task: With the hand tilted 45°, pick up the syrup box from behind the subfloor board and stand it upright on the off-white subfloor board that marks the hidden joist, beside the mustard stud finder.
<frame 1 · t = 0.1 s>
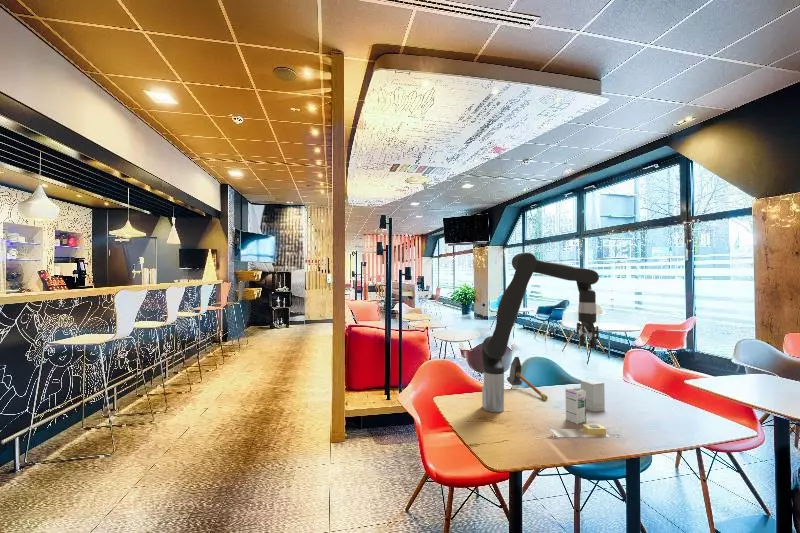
hand: (587, 346, 172), 29 cm above the table, tool pointing down, fingers open, 8 cm apart
syrup box: (575, 424, 154), on the table
subfloor board: (579, 436, 142), on the table
stud finder: (594, 432, 142), resting on subfloor board
supplement box: (592, 408, 171), on the table
hammer: (527, 391, 197), on the table
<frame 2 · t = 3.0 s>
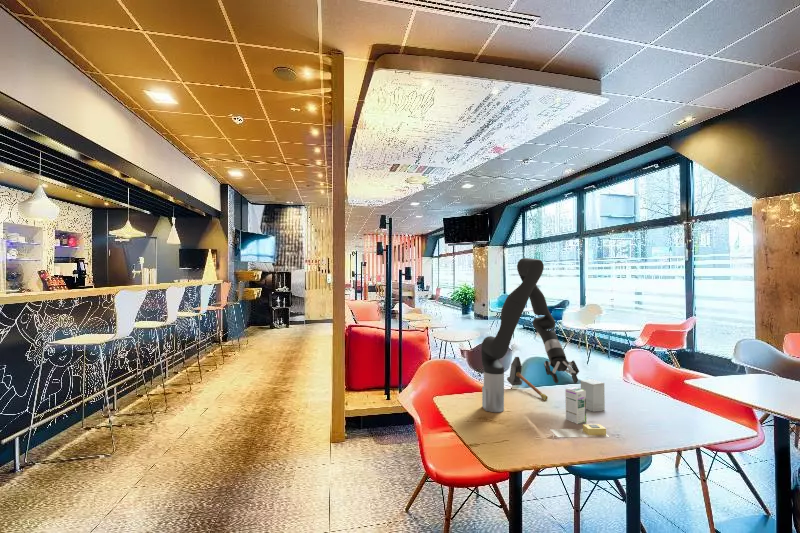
hand: (566, 382, 162), 15 cm above the table, tool tilted 45°, fingers open, 8 cm apart
nothing on the table moved.
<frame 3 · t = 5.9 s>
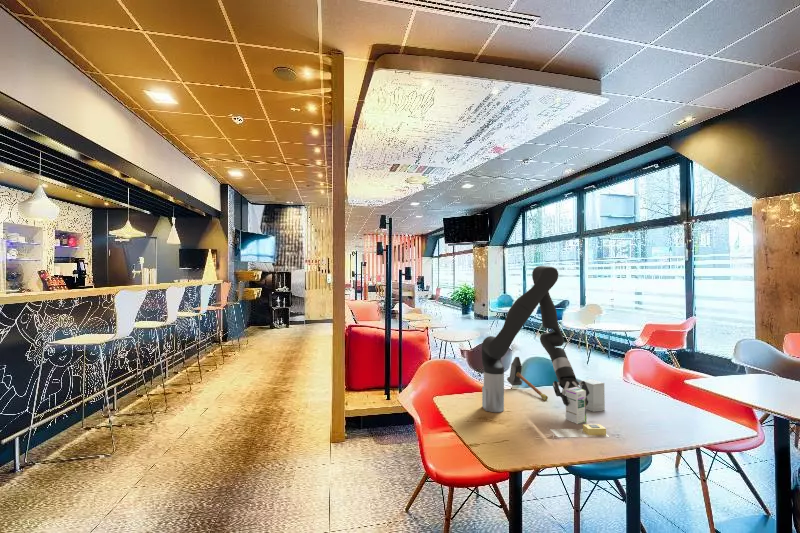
hand: (576, 405, 153), 8 cm above the table, tool tilted 45°, fingers closed on syrup box, 7 cm apart
syrup box: (575, 424, 154), on the table, touching gripper
everything else where it was.
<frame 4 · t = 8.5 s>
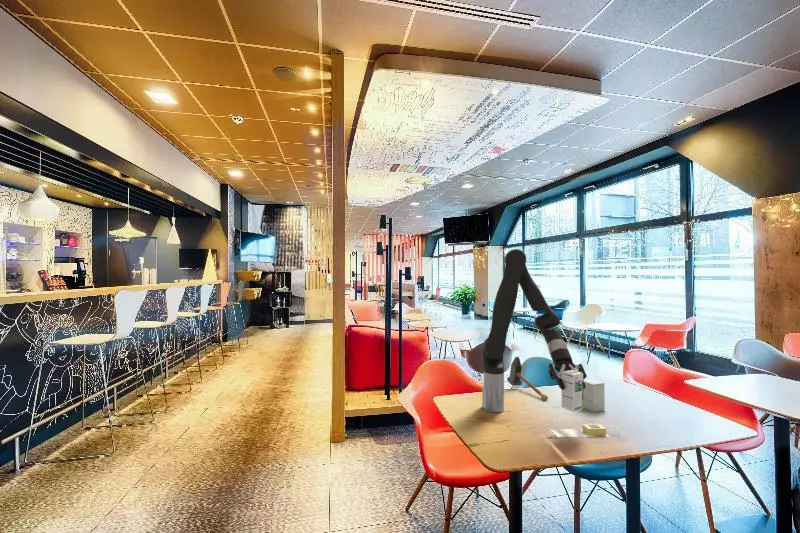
hand: (573, 388, 143), 18 cm above the table, tool tilted 45°, fingers closed on syrup box, 7 cm apart
syrup box: (572, 409, 143), point 10 cm above the table, touching gripper
everything else where it was.
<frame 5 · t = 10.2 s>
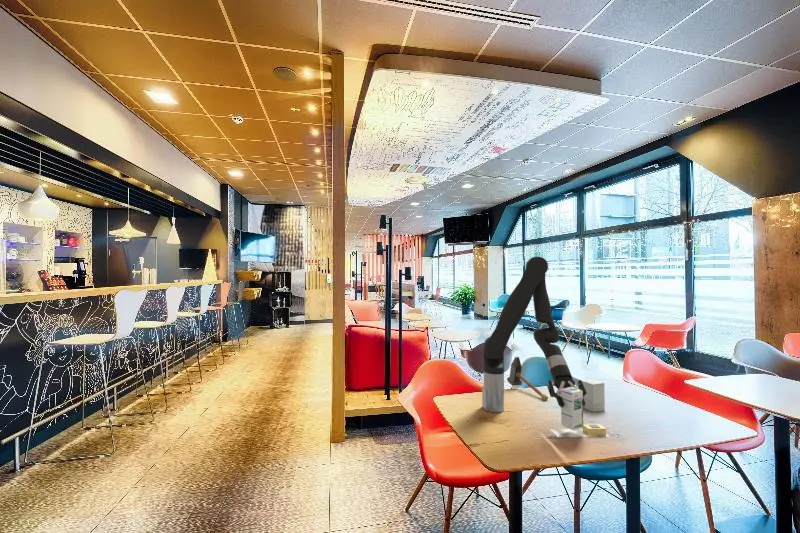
hand: (572, 406, 141), 12 cm above the table, tool tilted 45°, fingers closed on syrup box, 7 cm apart
syrup box: (572, 427, 142), point 4 cm above the table, touching gripper
everything else where it was.
when the fingers open (11 cm above the table, at t = 11.5 s): syrup box drops 1 cm, resting on subfloor board.
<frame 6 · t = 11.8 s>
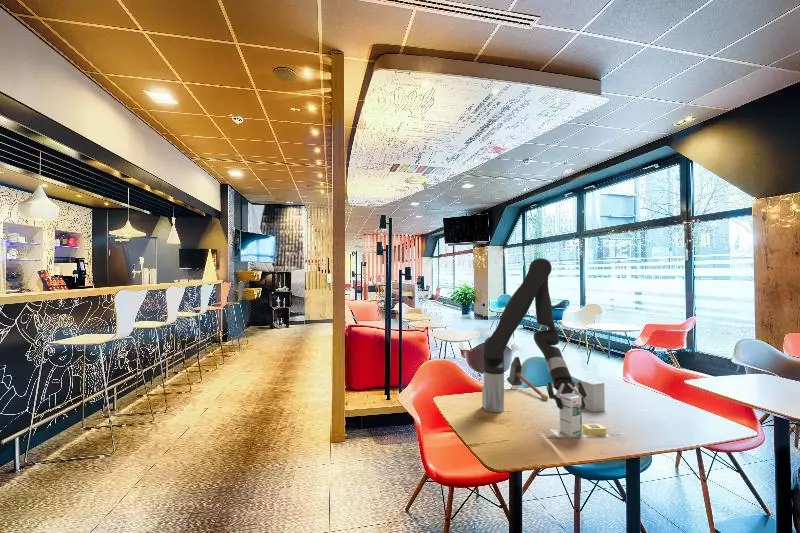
hand: (572, 408, 141), 11 cm above the table, tool tilted 45°, fingers open, 8 cm apart
syrup box: (570, 433, 142), point 1 cm above the table, touching gripper, subfloor board
everything else where it was.
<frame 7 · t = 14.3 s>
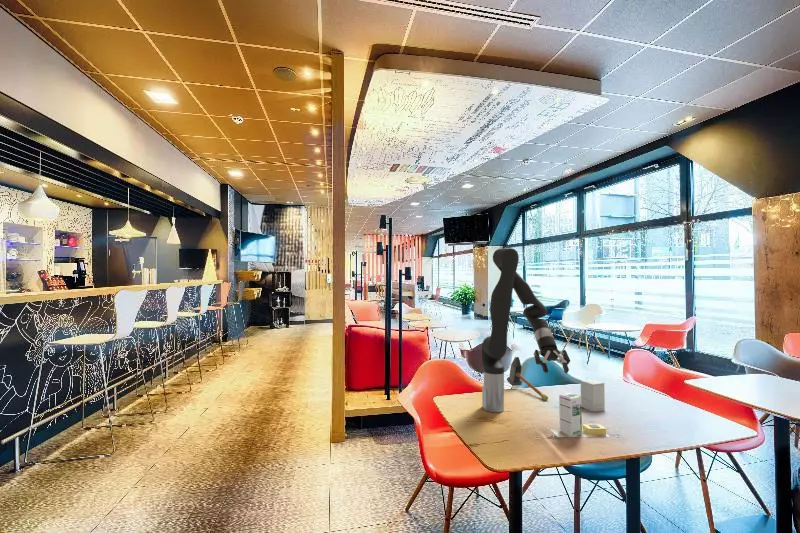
hand: (557, 372, 154), 21 cm above the table, tool tilted 45°, fingers open, 8 cm apart
syrup box: (570, 433, 142), point 1 cm above the table, touching subfloor board
everything else where it was.
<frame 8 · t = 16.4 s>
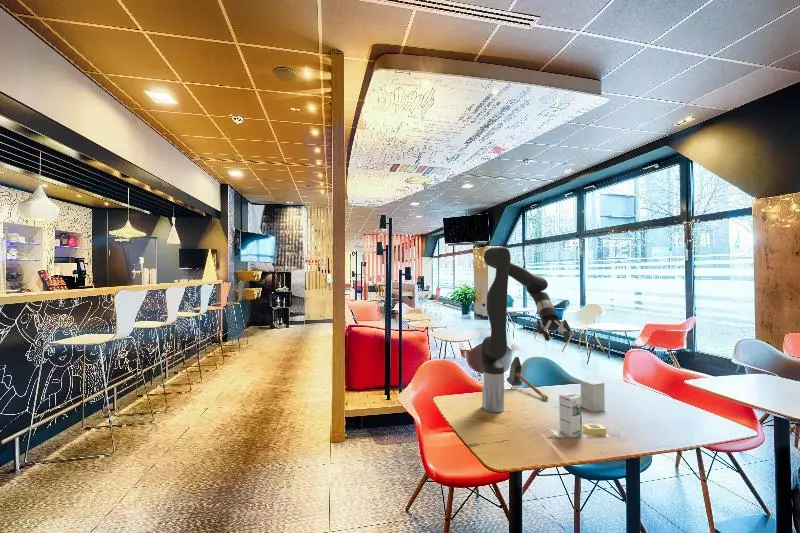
hand: (557, 340, 162), 34 cm above the table, tool tilted 45°, fingers open, 8 cm apart
nothing on the table moved.
at the end: syrup box 0.4 cm from the target spot, point 1.2 cm above the table; syrup box tilted 0°; the gripper is holding nothing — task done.
